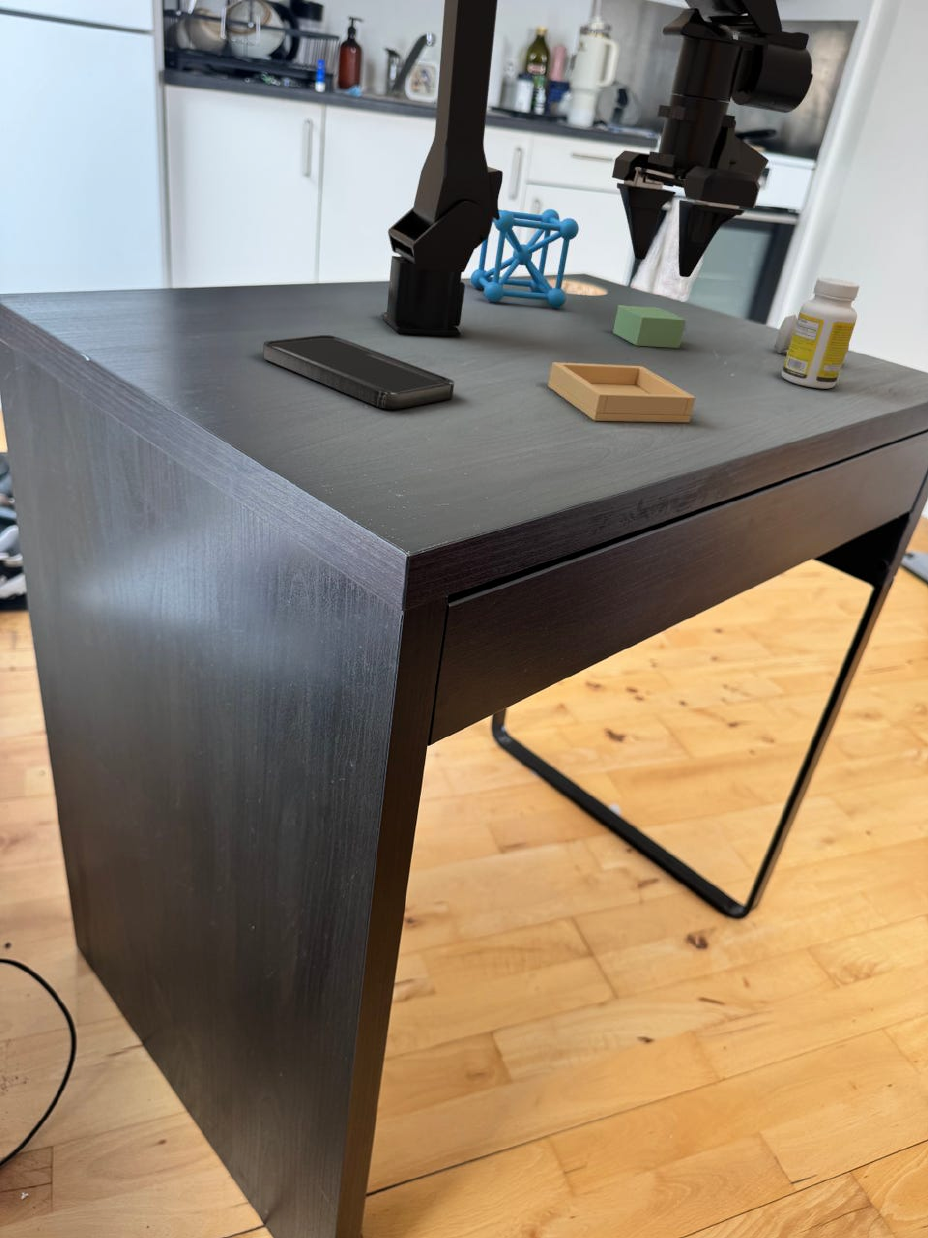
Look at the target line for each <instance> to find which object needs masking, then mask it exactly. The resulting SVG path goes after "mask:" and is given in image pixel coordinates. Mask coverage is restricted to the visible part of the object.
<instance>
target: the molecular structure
mask: <svg viewBox="0 0 928 1238" xmlns="http://www.w3.org/2000/svg"><path fill="white" fill-rule="evenodd" d="M498 211H499V216H500V219H499V220H496V219H494V218H493V223H492V224H493V225H494V227H495V229H496V230H497V231H498V240H497V247H496V253H495V260H494V267H492V268H490V269H488V270H485V268H486V267H485V266H486V259H487V252H488V247H489V246H488V245H489V238H490V235H489V236H488V238H487V239H486V240H485V241H484V242H483V243H482V244H481V245H480V246H481V248H480V255H479V261H478V268H477V269H475V270H473V271H472V273H471V274H470V283H471V285H472V286H473V287H474V288H476V289H478V290H479V289H481V290H482V289H483V294H484V297H485V299H486V300H487V301H489V302H490V303H497V302H499V301H501V300H502V299H503V297H509V298H510V297H511V298H519V299H529V300H539V301H546V303H547V305H548V306H549V307H550V308H551V309H560V308H562V307H563V306H564V305H565V303H566V302H567V294H566V292H565V291H564V290H563V288H562V285H563V281H564V280H563V279H564V274H565V270H566V263H567V258H568V253H569V247H570V242H571V240H573V239H575V238H576V237H577V235H578V234H579V230H580V227H579V226H580V225H579V224H578V221H577V220H575V219H574V218H571V217H566V218H564V219H562V220H561V219H560V214H559V212H558V211H556V210H555V209H553V208H548V209H545V210H544V211H543V212H542V213H541V214H535V213H528V212H520V211H511V210H507V209H499V208H498ZM514 227H520V228H527V229H535V230H537V231H535V233H534V235H532V237H531V238H530V240H528V242H527V243H526V244H525V243H524V244H523V243H522V244H521V243H520V241H519V238H518V237H517V235H516V233H515V232H514V229H513V228H514ZM551 232H554V233H551ZM543 234H544V235H543ZM542 236H543V239H541V240H540V238H541V237H542ZM560 238H561V239H563V241H562V246H561V250H560V251H561V252H560V258H559V264H558V269H557V274H556V280H555V285H554V287H552V286H551V283H549V281H548V279H547V277H545V276H544V275H545V268H546V263H547V257H548V253H549V252H548V251H549V247H550V246H549V245H550V244H552V243H553V242H555V241H558V239H560ZM539 240H540V241H539ZM506 241H507V243H509V245H510V246H511V247H512V248H513V251H512V256H511V257H509V258H507V259H506V260H504V261H503V256H504V248H505V242H506ZM540 249H541V251H540V259H539V266H538V267H537V266H536V265H535V263H534V262H533V261H532V259H533V254H534V253H535V252H537V251H539V250H540ZM502 261H503V262H502ZM519 266H524V267H525V269H526V270H527V272H528V274H529V276H530V277H531V279H530V280H525V279H517V278H516V279H515V278H511V276H512V275H513V273H514V272H515V271H516V269H517V268H518V267H519ZM505 269H506V271H505V272H504V273H503V274H502V276H501V271H503V270H505ZM504 285H506V286H515V287H525V288H529V289H530V291H522V290H512V289H505V288H504Z"/></svg>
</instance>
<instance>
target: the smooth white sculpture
mask: <svg viewBox="0 0 928 1238" xmlns="http://www.w3.org/2000/svg"><path fill="white" fill-rule="evenodd" d="M797 319H798V317H797V316H796V314H793V315H788V316H785V317H784V318H783V320H782V323H781V325H780V327H779V330H778V332H777V335H776V338H775V341H774V344H773V347H774V349H775V350H776V351H777V352H778V353H779V354H781V353H784V352H786V351H788V349H789V346H790V342H791V339H792V336H793V332H794V329H795V326H796V322H797ZM849 348H850V344H849V345H848V348H847V351H846V354H845V356H846V355H847V353H848V351H849Z"/></svg>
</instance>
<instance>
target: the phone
mask: <svg viewBox="0 0 928 1238" xmlns="http://www.w3.org/2000/svg"><path fill="white" fill-rule="evenodd" d="M262 357H263V359H264V360H266V361H269V362H271V363H274V364H276V365H278V366H281V367H283V368H286V369H288V370H290V371H293V372H295V373H297V374H300V375H302V376H304V377H307V378H309V379H312V380H314V381H316V382H318V383H321V384H323V385H326V386H328V387H330V388H333V389H335V390H337V391H340V392H342V393H344V394H347V395H350V396H352V397H354V398H356V399H359V400H361V401H364V402H366V403H368V404H371V405H373V406H375V407H378V408H381V409H387V410H399V409H405V408H409V407H414V406H419V405H425V404H429V403H435V402H441V401H446V400H450V399H452V398H453V395H454V390H455V389H454V388H455V381H454V380H453V379H450V378H448V377H445V376H443V375H440V374H438V373H436V372H433V371H429V370H426V369H424V368H421V367H419V366H417V365H413V364H411V363H408V362H405V361H403V360H400V359H397V358H395V357H393V356H390V355H387V354H384V353H382V352H380V351H377V350H374V349H371V348H369V347H366V346H363V345H361V344H359V343H356V342H353V341H350V340H347V339H345V338H342V337H341V336H336V335H330V334H319V335H311V336H301V337H292V338H291V337H290V338H282V339H272V340H266V341H264V342H263V351H262Z"/></svg>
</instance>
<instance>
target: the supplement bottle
mask: <svg viewBox="0 0 928 1238" xmlns="http://www.w3.org/2000/svg"><path fill="white" fill-rule="evenodd" d="M859 289H860V284H857V283H855V282H852V281H847V280H844V279H837V278H832V277H822V276H821V277H817V279H816V281H815V284H814V287H813V292H812V294H814V296H813V298H812V299H808V300H807V301H805V302H804V303H802V305H801V307H800V309H799V313H798V315H797V322H796V326H795V329H794V332H793V336H792V339H791V342H790V346H789V349H788V350H787V352H786V356H785V360H784V363H783V366H782V369H781V377H782V378H783V379H784V380H785V381H788V382H790V383H792V384H794V385H799V386H804V387H808V388H814V389H822V390H823V389H825V390H827V389H832V388H834V387H835V386H836V385H837V381H838V379H839V375H840V373H841V369H842V367H843V363H844V360H845V357H846V355H847V354H846V351H847V348H848V345H849V346H850V342H851V340H852V339H851V338H852V335H853V333H854V329H855V327H856V323H857V320H858V312H857V311H856V310H855V308H854V307H852V302H854V301H856V298H857V297H858V292H859ZM845 354H846V355H845Z"/></svg>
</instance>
